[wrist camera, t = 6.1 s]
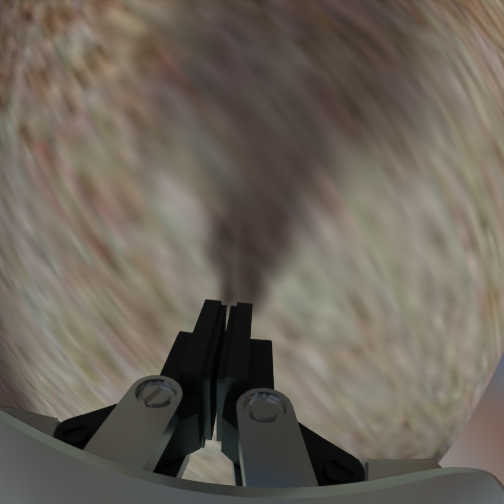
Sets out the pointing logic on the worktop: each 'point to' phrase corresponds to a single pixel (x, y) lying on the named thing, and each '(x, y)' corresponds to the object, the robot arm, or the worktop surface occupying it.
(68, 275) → the worktop surface
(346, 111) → the worktop surface
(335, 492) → the robot arm
